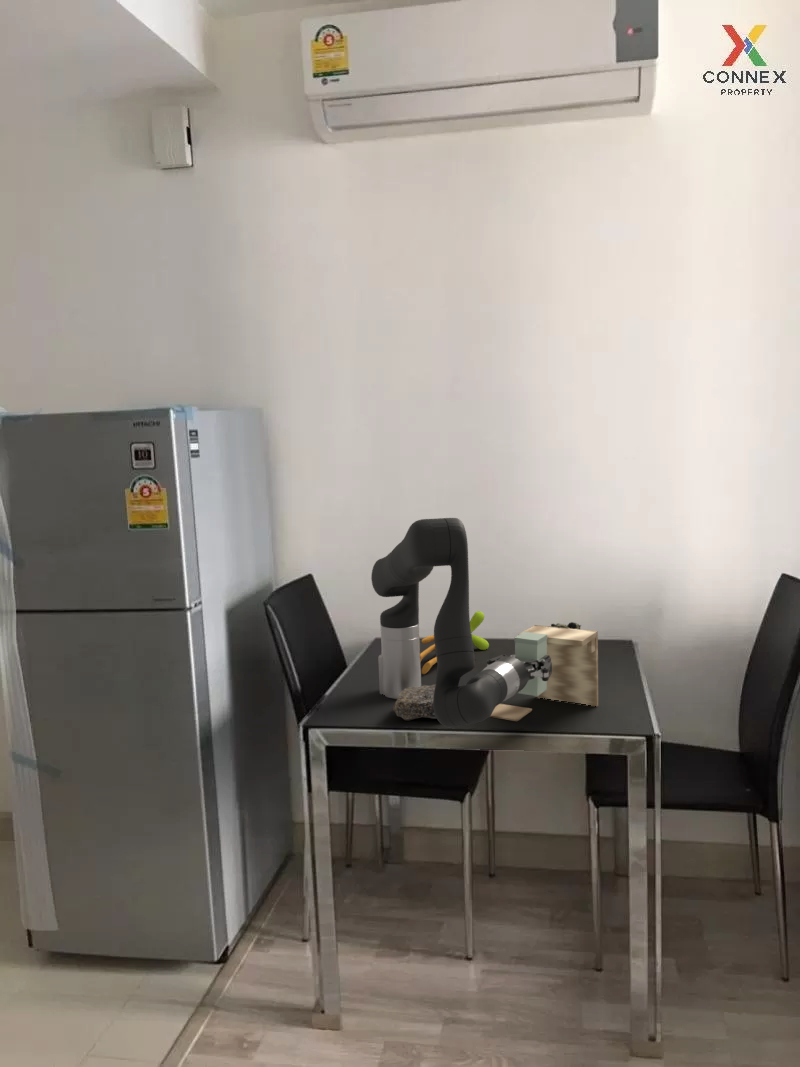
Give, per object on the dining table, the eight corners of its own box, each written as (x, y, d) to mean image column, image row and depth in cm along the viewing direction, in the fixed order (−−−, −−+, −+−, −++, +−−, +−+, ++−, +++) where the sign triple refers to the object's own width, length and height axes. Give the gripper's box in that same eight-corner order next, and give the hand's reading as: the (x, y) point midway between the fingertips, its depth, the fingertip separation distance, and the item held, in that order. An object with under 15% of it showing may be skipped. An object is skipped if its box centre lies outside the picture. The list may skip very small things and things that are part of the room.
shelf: (519, 708, 205) (518, 634, 202) (536, 696, 213) (535, 625, 210) (583, 718, 197) (582, 640, 194) (598, 705, 205) (597, 631, 202)
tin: (514, 692, 191) (514, 637, 189) (524, 685, 195) (524, 631, 193) (537, 696, 188) (537, 640, 186) (547, 689, 193) (547, 634, 191)
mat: (484, 716, 201) (484, 714, 200) (499, 705, 207) (499, 703, 207) (517, 721, 196) (517, 719, 196) (532, 710, 203) (532, 708, 203)
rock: (465, 707, 208) (401, 707, 211) (463, 680, 207) (399, 680, 210) (457, 724, 196) (389, 724, 199) (455, 695, 195) (387, 695, 198)
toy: (427, 703, 236) (481, 660, 260) (449, 665, 229) (503, 625, 253) (390, 672, 240) (447, 632, 264) (412, 634, 233) (468, 597, 257)
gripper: (535, 666, 174) (567, 644, 189) (468, 657, 182) (505, 636, 196) (535, 704, 176) (567, 679, 190) (469, 693, 183) (505, 670, 197)
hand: (535, 657), depth 193 cm, fingers closed on tin, 5 cm apart
